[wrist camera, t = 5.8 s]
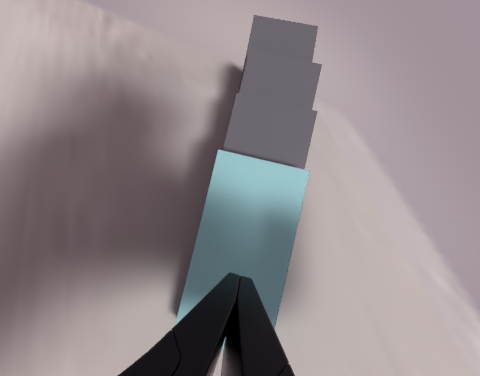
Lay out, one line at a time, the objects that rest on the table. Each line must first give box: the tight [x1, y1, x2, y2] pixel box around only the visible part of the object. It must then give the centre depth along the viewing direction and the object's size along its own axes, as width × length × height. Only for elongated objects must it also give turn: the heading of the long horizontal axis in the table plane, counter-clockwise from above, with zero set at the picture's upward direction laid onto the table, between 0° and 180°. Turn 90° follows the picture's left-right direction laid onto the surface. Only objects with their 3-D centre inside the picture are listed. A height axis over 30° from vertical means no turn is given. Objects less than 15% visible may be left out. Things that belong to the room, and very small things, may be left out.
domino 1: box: [239, 15, 318, 91], centre depth 20 cm, size 2×5×10 cm
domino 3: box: [223, 93, 317, 169], centre depth 16 cm, size 2×5×10 cm
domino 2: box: [239, 49, 322, 110], centre depth 18 cm, size 2×5×10 cm
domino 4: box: [175, 150, 309, 350], centre depth 14 cm, size 2×5×10 cm
